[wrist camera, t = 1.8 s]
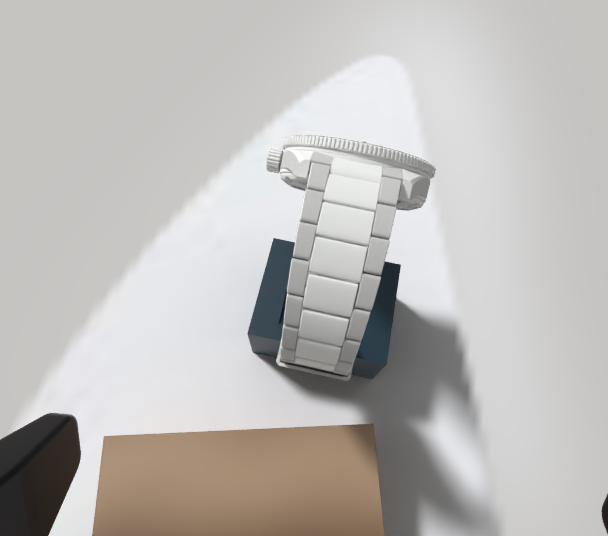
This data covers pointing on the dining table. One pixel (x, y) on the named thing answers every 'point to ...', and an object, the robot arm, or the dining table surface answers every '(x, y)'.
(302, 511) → the plinth
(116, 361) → the dining table surface
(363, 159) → the watch
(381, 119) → the dining table surface
